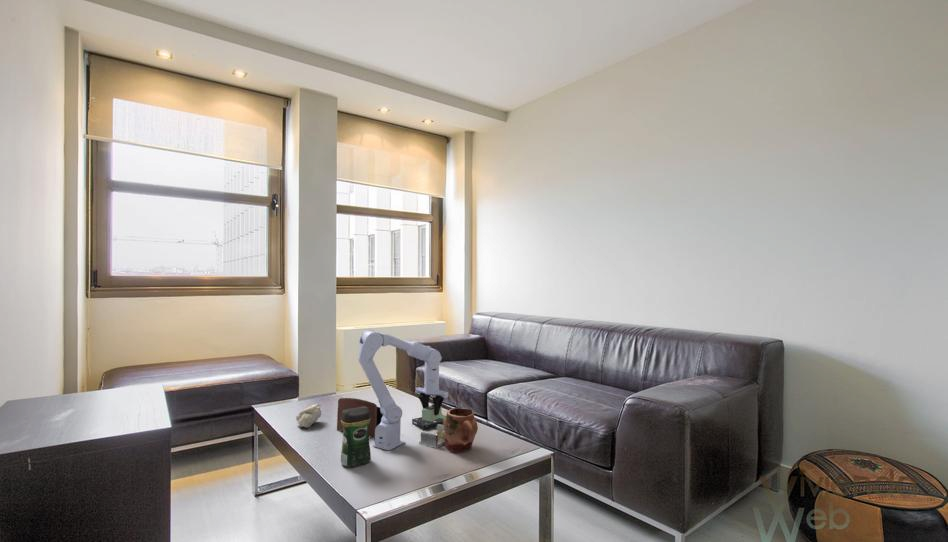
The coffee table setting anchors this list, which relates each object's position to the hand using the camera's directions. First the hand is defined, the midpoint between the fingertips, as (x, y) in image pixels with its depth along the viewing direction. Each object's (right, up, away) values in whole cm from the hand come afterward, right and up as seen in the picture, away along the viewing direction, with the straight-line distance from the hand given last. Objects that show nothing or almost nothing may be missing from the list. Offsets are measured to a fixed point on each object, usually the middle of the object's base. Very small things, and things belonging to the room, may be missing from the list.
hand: (431, 413), depth 174 cm
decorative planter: (+12, -10, -12) cm, 19 cm away
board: (0, -2, 0) cm, 2 cm away
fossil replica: (-54, -9, +13) cm, 56 cm away
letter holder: (-29, -10, +7) cm, 31 cm away
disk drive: (-1, -10, +16) cm, 19 cm away
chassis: (+3, -9, -3) cm, 10 cm away
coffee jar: (-24, -9, -24) cm, 35 cm away
